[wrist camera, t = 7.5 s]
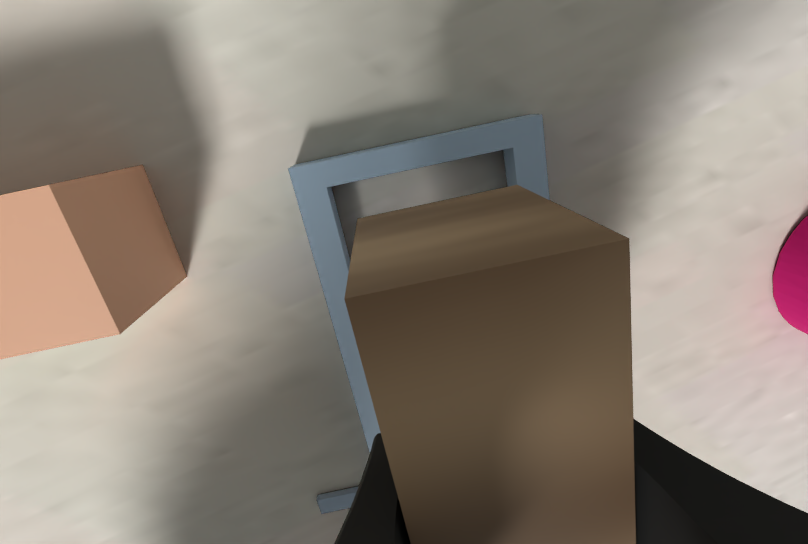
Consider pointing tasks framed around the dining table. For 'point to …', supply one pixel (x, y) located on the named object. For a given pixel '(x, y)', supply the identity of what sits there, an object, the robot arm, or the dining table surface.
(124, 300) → the pinkish tan block
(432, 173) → the dining table surface
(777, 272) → the pepper mill
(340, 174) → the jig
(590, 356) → the wooden block on base
